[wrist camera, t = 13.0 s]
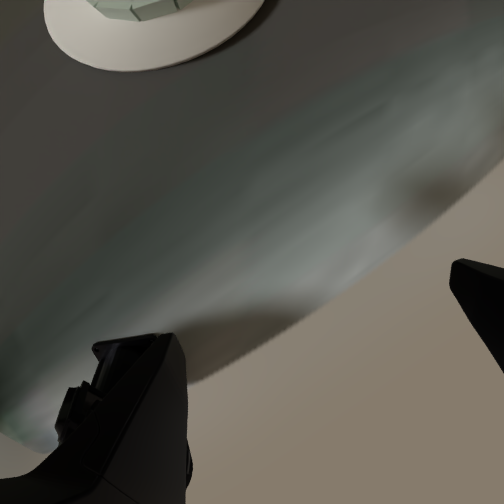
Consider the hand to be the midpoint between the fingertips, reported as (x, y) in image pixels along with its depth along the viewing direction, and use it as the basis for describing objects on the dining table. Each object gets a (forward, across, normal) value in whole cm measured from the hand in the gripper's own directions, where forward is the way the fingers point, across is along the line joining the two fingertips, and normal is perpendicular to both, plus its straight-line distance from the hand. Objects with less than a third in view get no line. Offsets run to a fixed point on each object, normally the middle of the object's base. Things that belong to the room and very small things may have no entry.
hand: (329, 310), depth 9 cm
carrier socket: (+13, +4, -18) cm, 23 cm away
